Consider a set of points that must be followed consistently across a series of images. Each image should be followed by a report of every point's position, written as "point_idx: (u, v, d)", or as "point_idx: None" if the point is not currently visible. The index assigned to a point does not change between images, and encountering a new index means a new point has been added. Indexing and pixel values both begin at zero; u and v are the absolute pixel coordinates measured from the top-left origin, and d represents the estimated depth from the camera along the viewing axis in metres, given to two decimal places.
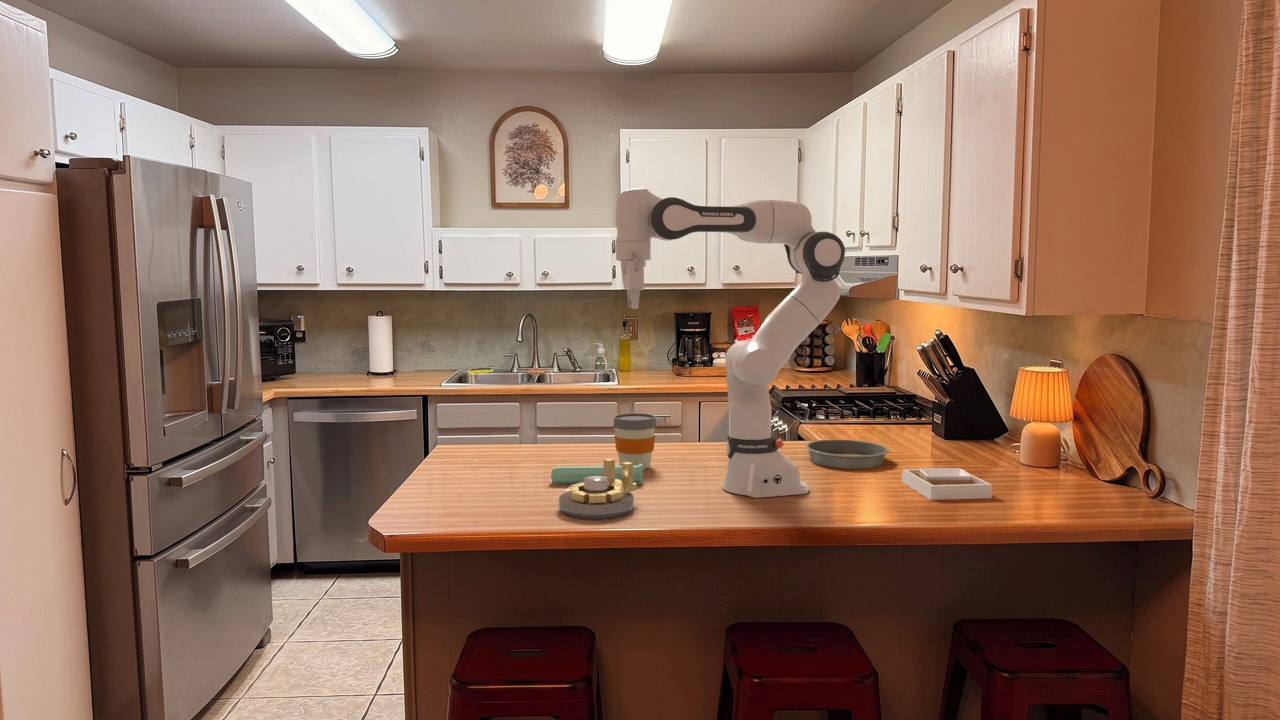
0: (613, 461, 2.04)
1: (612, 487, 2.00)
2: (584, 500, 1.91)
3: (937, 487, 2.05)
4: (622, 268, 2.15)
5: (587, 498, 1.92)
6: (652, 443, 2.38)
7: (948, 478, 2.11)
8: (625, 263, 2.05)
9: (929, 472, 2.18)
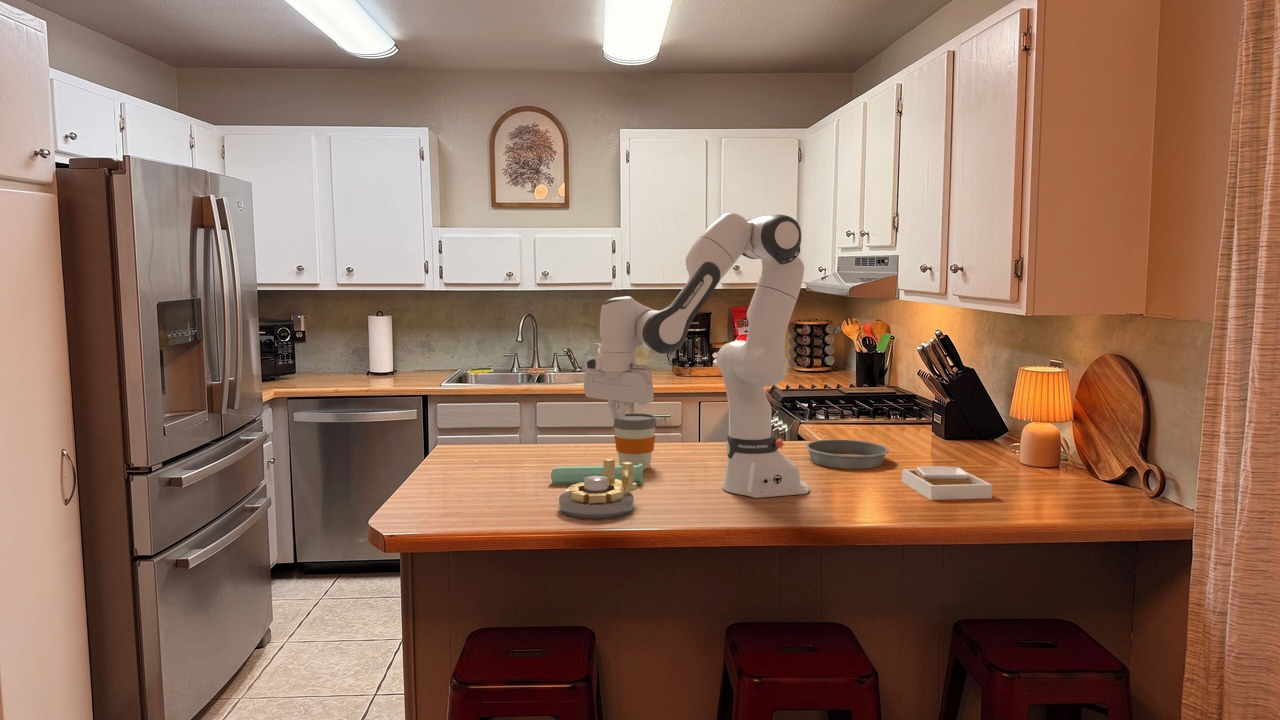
0: (613, 461, 2.04)
1: (612, 487, 2.00)
2: (584, 500, 1.91)
3: (937, 487, 2.05)
4: (588, 376, 2.04)
5: (587, 498, 1.92)
6: (652, 443, 2.38)
7: (945, 476, 2.12)
8: (619, 374, 1.97)
9: (926, 471, 2.20)
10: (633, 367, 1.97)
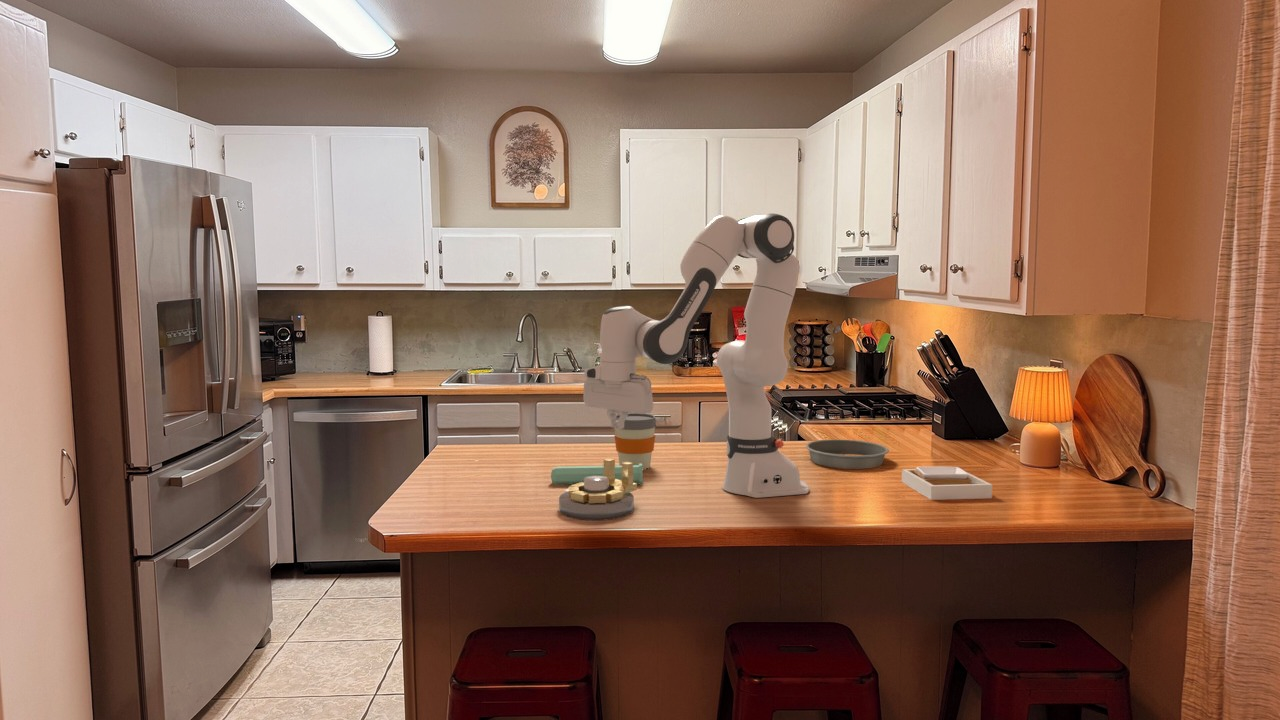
0: (613, 461, 2.04)
1: (612, 487, 2.00)
2: (584, 500, 1.91)
3: (937, 487, 2.05)
4: (588, 385, 2.04)
5: (587, 498, 1.92)
6: (652, 443, 2.38)
7: (945, 476, 2.13)
8: (618, 384, 1.98)
9: (926, 471, 2.20)
10: (633, 377, 1.97)
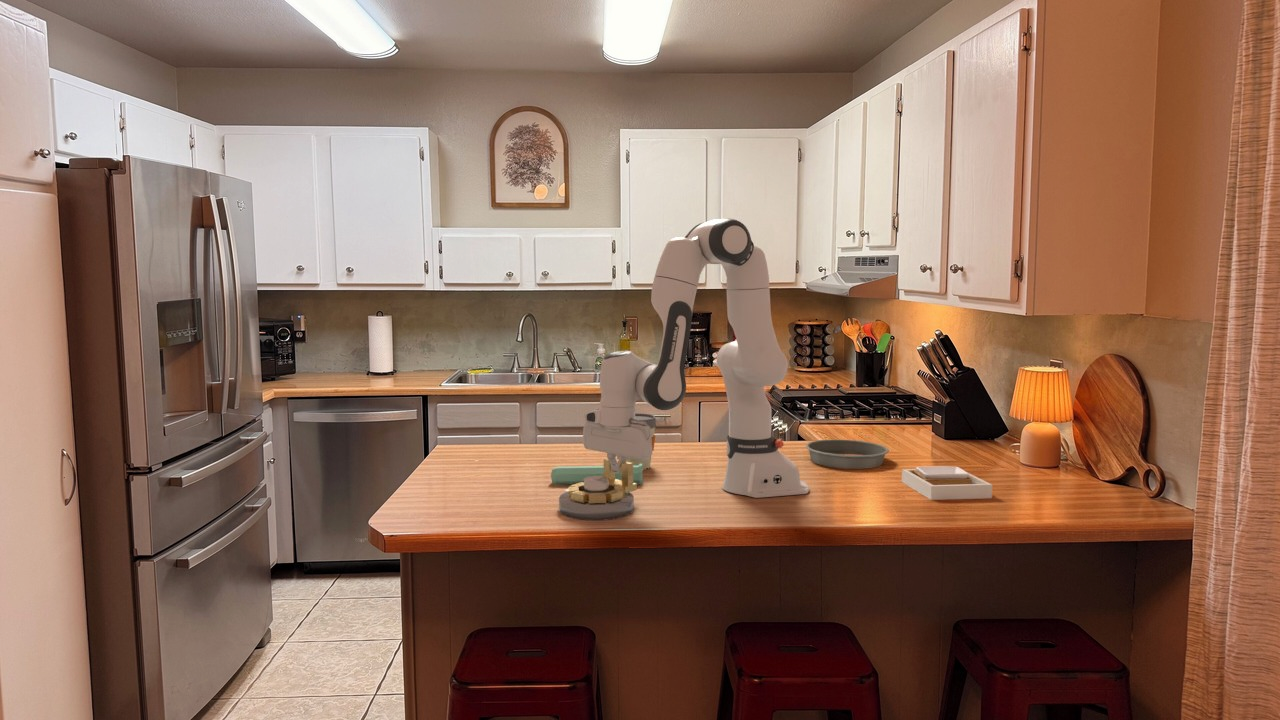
0: None
1: (612, 487, 2.00)
2: (584, 500, 1.91)
3: (937, 487, 2.05)
4: (587, 428, 2.05)
5: (587, 498, 1.92)
6: (652, 443, 2.38)
7: (946, 476, 2.13)
8: (618, 429, 1.99)
9: (926, 470, 2.20)
10: (632, 422, 1.98)
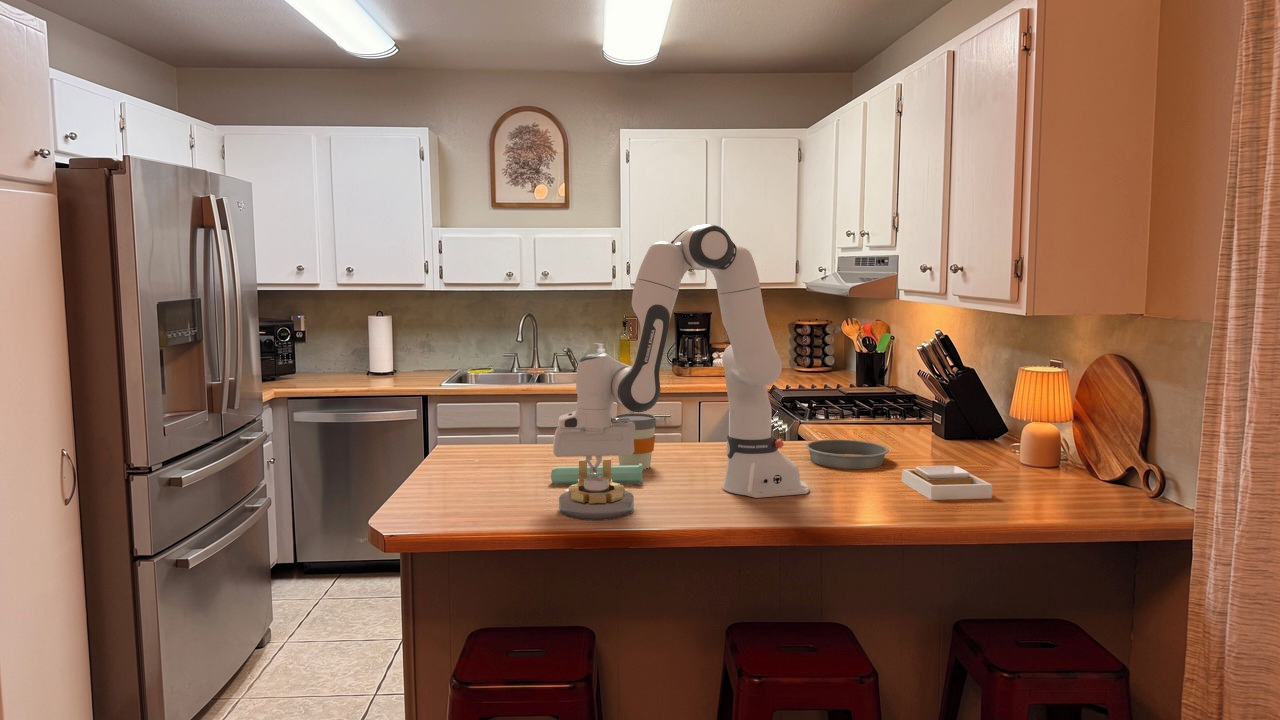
0: None
1: None
2: (606, 500, 1.91)
3: (937, 487, 2.05)
4: (562, 435, 2.00)
5: (605, 498, 1.92)
6: (652, 443, 2.38)
7: (948, 475, 2.13)
8: (603, 430, 2.01)
9: (925, 470, 2.21)
10: (615, 421, 2.03)
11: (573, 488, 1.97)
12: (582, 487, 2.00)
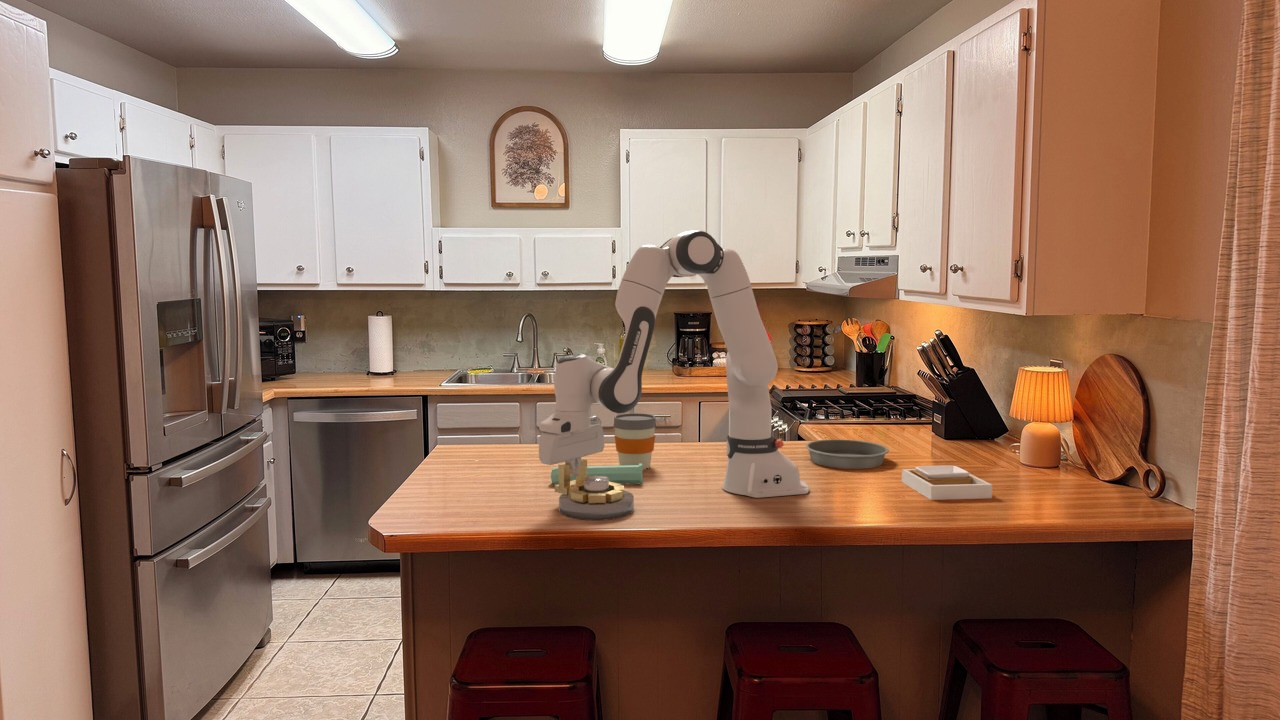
0: None
1: None
2: None
3: (937, 487, 2.05)
4: (556, 441, 1.93)
5: None
6: (652, 443, 2.38)
7: (948, 475, 2.13)
8: (585, 430, 2.01)
9: (925, 470, 2.21)
10: None
11: (579, 492, 1.93)
12: (578, 490, 1.97)
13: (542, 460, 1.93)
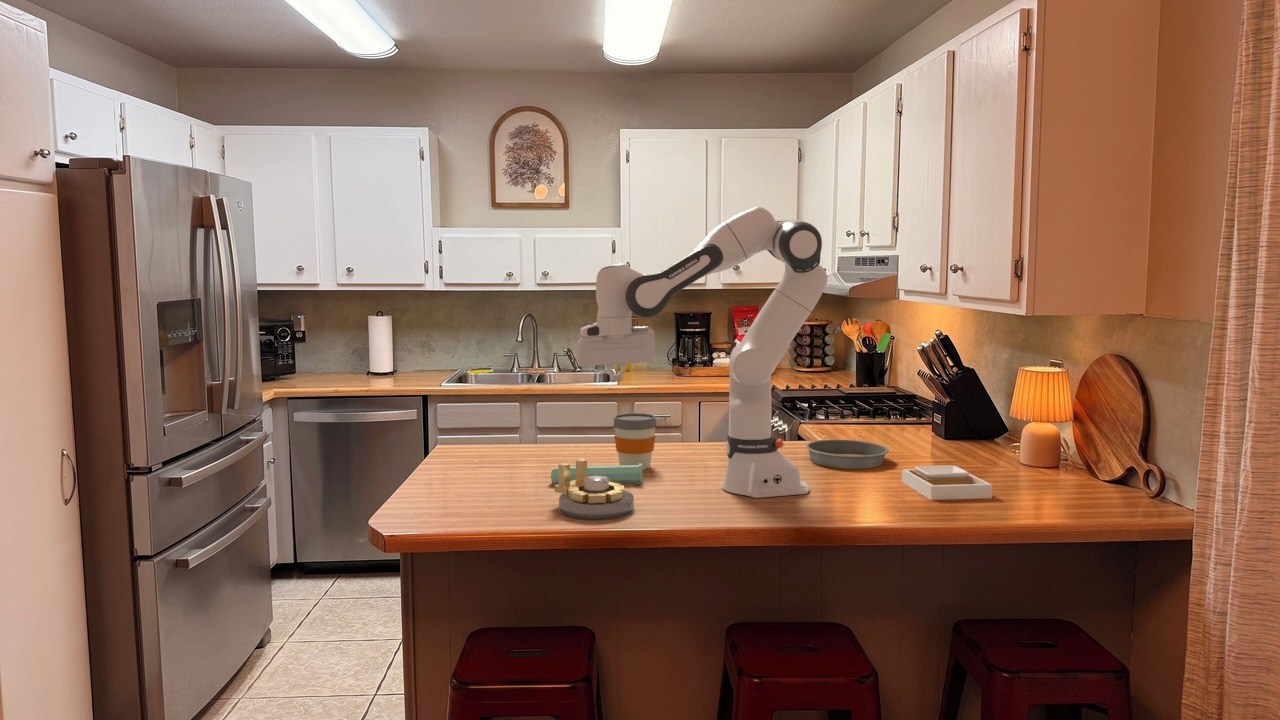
0: None
1: None
2: None
3: (937, 487, 2.05)
4: (585, 344, 2.06)
5: None
6: (652, 443, 2.38)
7: (948, 475, 2.13)
8: (624, 337, 2.08)
9: (924, 470, 2.21)
10: (635, 329, 2.10)
11: (579, 492, 1.93)
12: (578, 490, 1.97)
13: (576, 361, 2.09)
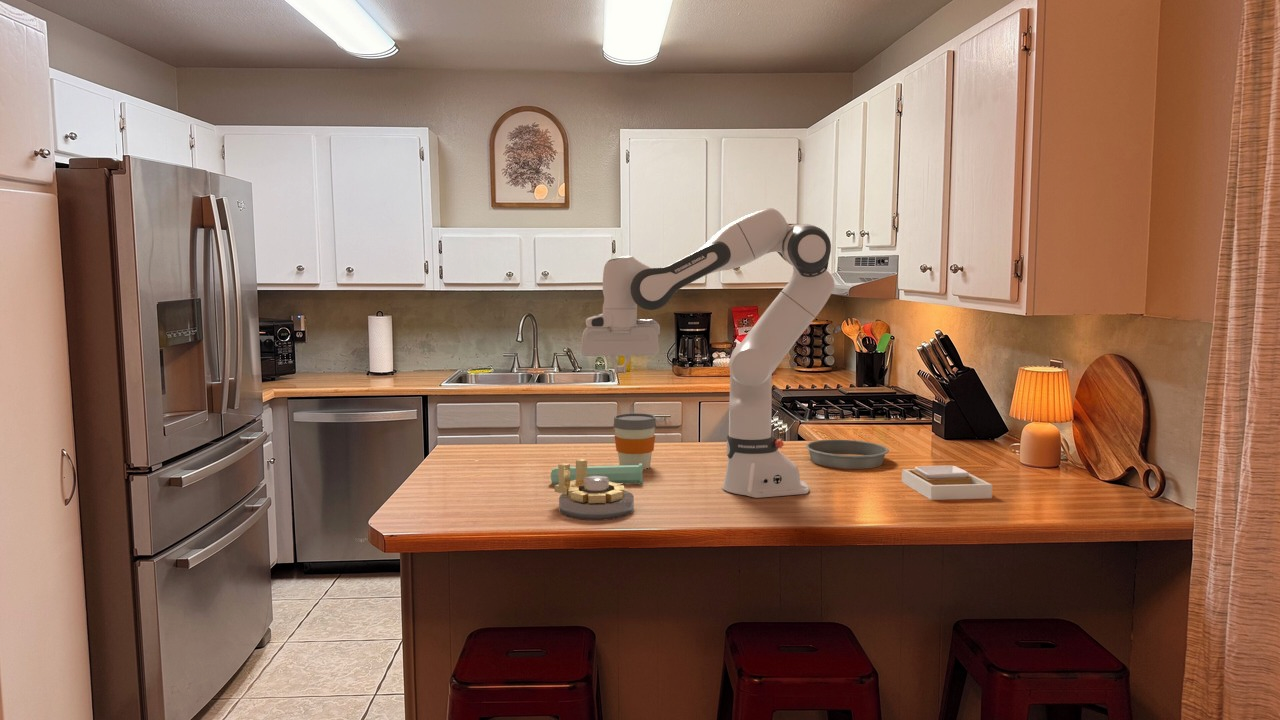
0: None
1: None
2: None
3: (937, 487, 2.05)
4: (589, 334, 2.08)
5: None
6: (652, 443, 2.38)
7: (947, 475, 2.13)
8: (629, 330, 2.09)
9: (924, 470, 2.21)
10: (641, 322, 2.11)
11: (579, 492, 1.93)
12: (578, 490, 1.97)
13: None
